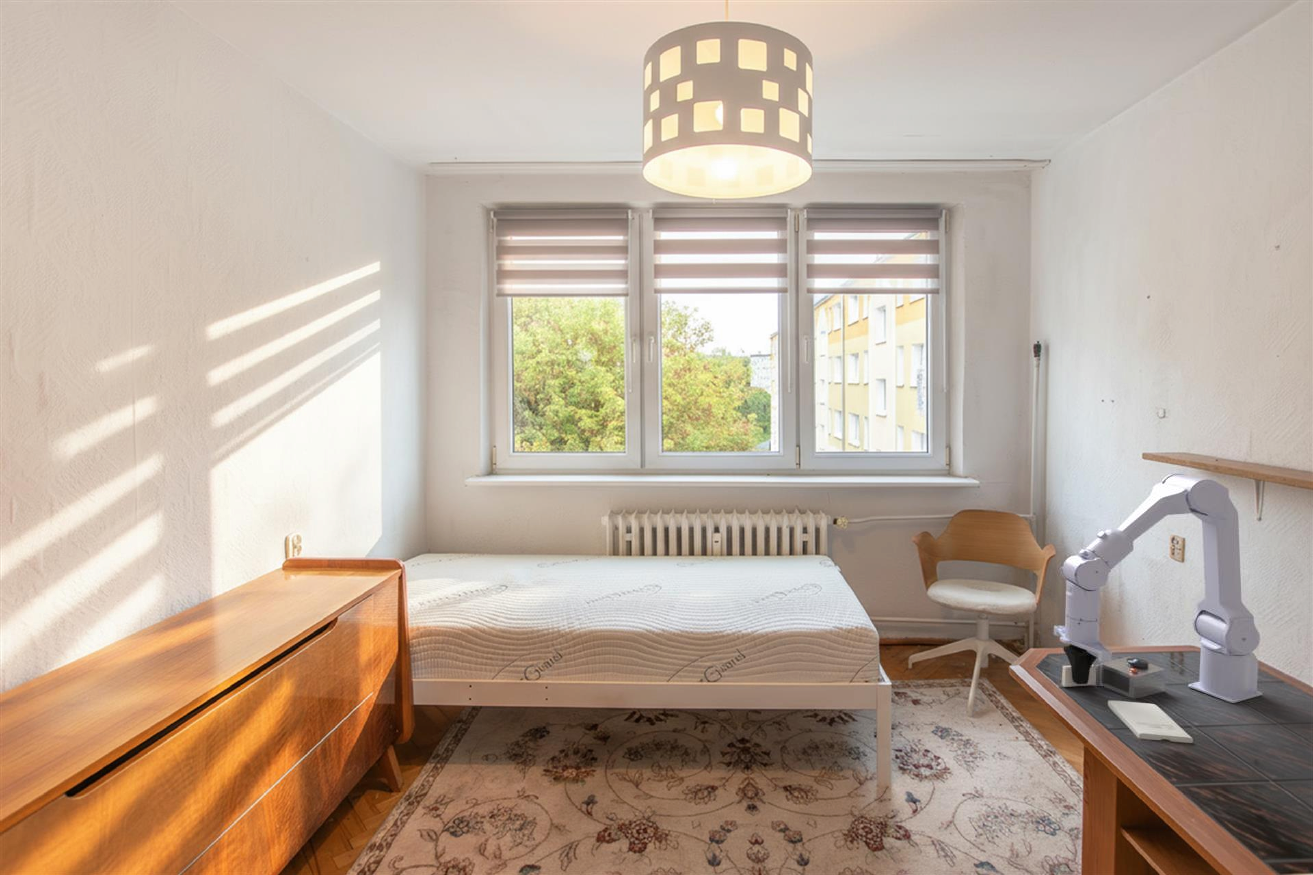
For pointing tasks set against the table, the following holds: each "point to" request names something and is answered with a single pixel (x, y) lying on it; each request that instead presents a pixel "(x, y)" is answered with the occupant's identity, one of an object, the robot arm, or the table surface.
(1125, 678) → the camera body
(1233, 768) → the table surface
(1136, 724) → the external hard drive
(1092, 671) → the side door
